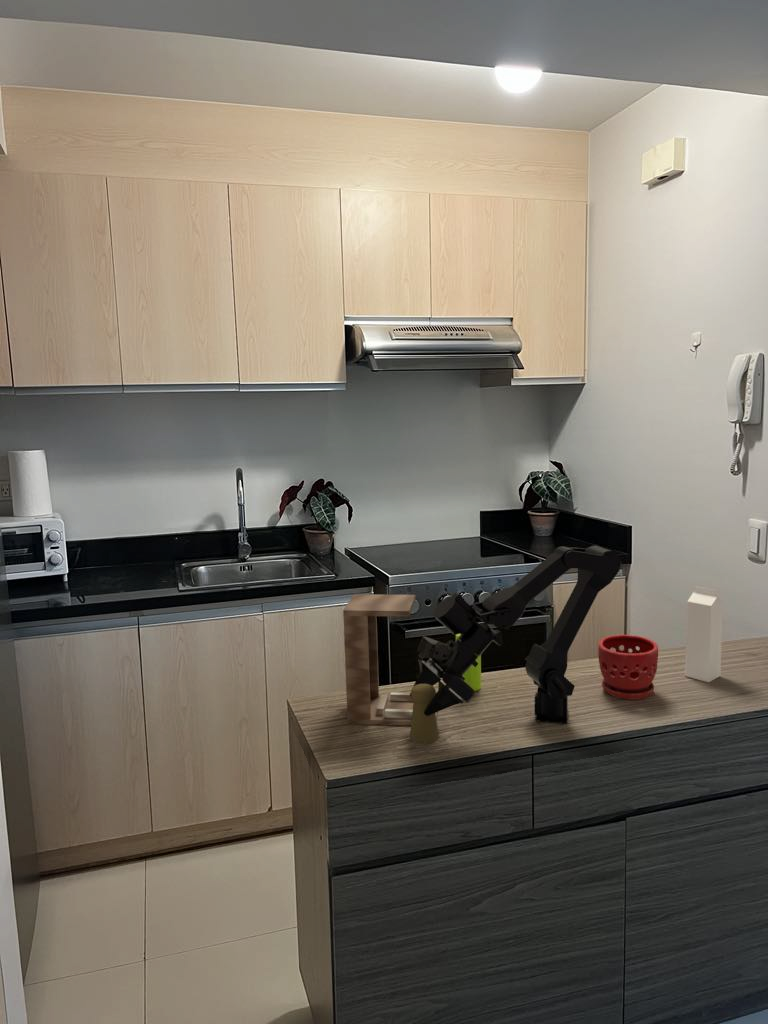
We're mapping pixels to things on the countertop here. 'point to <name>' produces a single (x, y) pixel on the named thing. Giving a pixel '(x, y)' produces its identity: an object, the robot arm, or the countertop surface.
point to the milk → (704, 634)
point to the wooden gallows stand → (372, 661)
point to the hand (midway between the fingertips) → (417, 705)
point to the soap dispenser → (473, 674)
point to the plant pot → (628, 666)
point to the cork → (423, 715)
